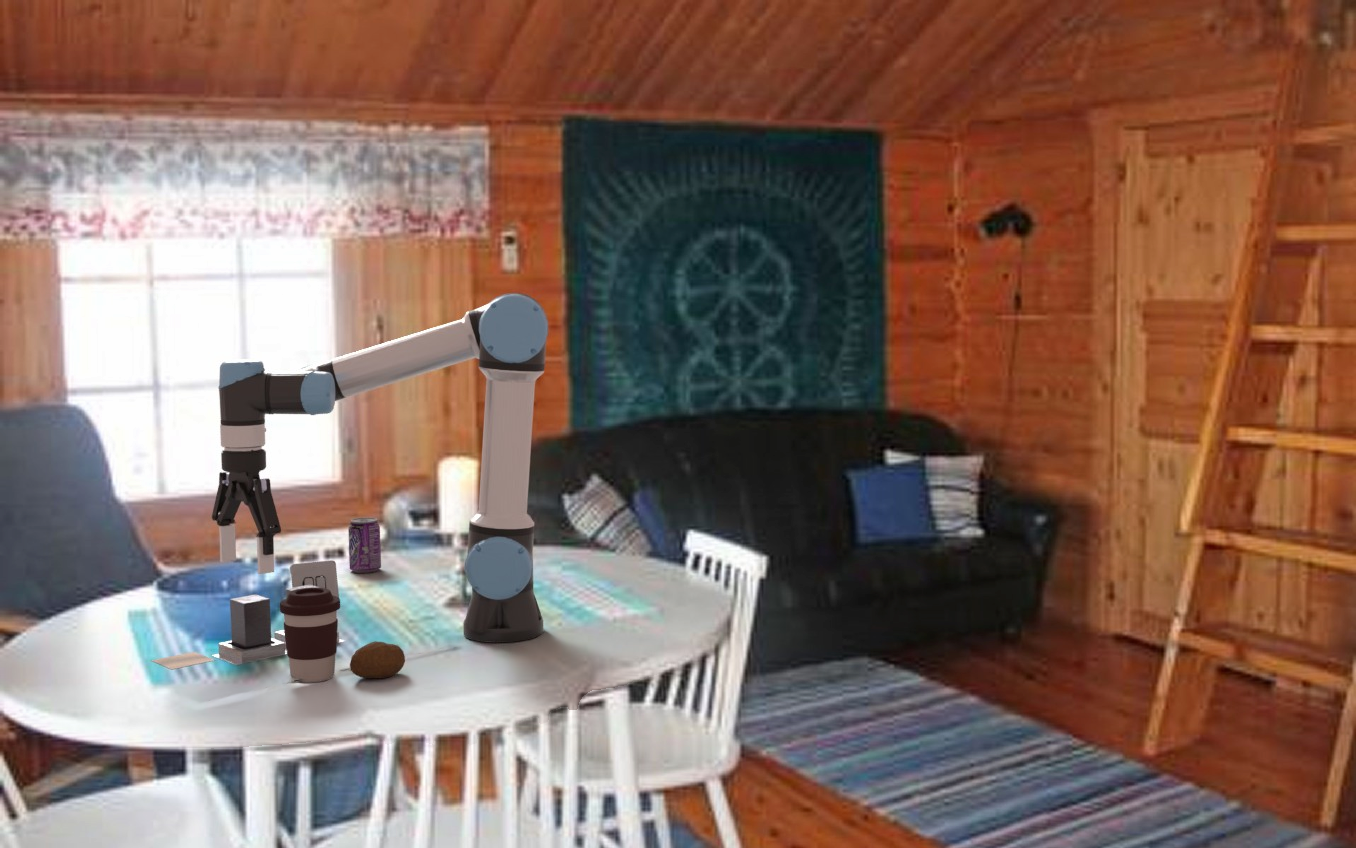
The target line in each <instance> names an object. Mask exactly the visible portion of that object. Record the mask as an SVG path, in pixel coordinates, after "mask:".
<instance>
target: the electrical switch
mask: <svg viewBox="0 0 1356 848" xmlns="http://www.w3.org/2000/svg"><path fill="white" fill-rule="evenodd" d="M289 572H290V573H289V574H290V575H291V577H290V578H291V588H294V587H300V586H305V585H313V586H316V587H320V588H326V589H329V590H330V591H331V593H332V595H333V596H336V597H338V598H340V593H339V583H338V574H337V573H338V572H337V564H336V561H335V560H332V559H331V560H323V561H322V560H321V561H311V562H300V563H292V564H291V565H290V566H289Z"/></svg>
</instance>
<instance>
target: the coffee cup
mask: <svg viewBox="0 0 1356 848" xmlns="http://www.w3.org/2000/svg"><path fill="white" fill-rule="evenodd" d="M340 608H341V599H340V597H339V598H338V597H336V596H333V595H332V593H331V591H330V590H329V589H326V588H320V587H311V588H301V589H296V590H293V591H291V592H290V593H289V595H288V597H287V598H286V597H285V599H282V600H281V601H280V602H279V611H280V613H281V614H283V619H284V622H283V630H284V632H285V641H286V651H287V654H286V656H287V657H288V663H289V664H288V665H289V674H290V676H292V677H293V678H297V679H294V680H293V681H294V682H297V683H302V684H311V683H313V684H314V683H322V682H325V681H328V680H330V679H333V677H334V676H335V674H336V673H335V671H336V669H335V668H336V653H337V649H338V643H337V631H338V625H339V623H338V622H339V621H338V617H337V614H338V613H337V612H338V611H339V609H340Z"/></svg>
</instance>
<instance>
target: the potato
mask: <svg viewBox="0 0 1356 848" xmlns="http://www.w3.org/2000/svg"><path fill="white" fill-rule="evenodd" d="M405 661H406V657H405V652H404V650H403V649H402V648H401V647H400V646H399V645H398V644H395V643H394V644H393V643H386V642H384V641H376V640H374V641H372V642H369V643H366V644H364V645H363V646H361V647H359V648H358V649H357V650H356V651H355V652H354V653H353V655H352V656H351V659H350V663H349V669H350V671H352V673H353V674H354V675H355V676H357V677H360V678H364V679H384V678H390V677H393V676H395V675H396V674H398V673H399V672H401V670H402V669H403V668H404V666H405Z"/></svg>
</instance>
